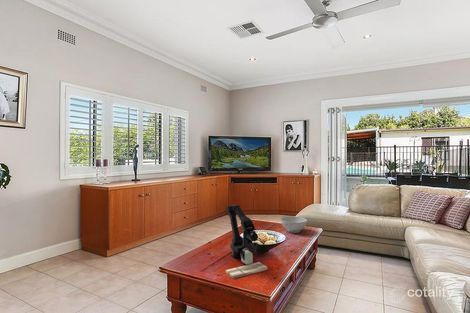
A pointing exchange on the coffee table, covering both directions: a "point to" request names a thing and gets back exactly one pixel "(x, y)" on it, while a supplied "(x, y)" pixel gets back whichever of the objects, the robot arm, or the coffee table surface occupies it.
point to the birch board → (246, 270)
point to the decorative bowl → (293, 223)
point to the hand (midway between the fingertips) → (246, 259)
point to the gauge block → (247, 257)
